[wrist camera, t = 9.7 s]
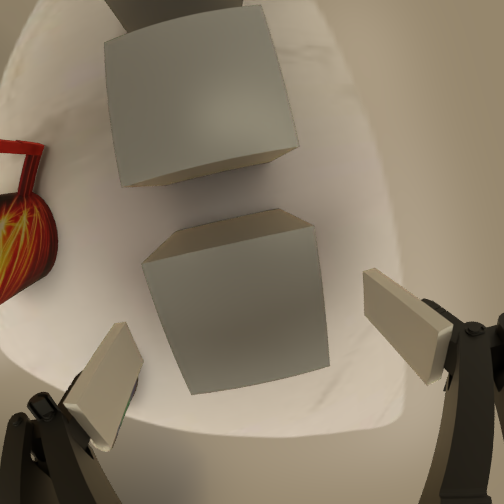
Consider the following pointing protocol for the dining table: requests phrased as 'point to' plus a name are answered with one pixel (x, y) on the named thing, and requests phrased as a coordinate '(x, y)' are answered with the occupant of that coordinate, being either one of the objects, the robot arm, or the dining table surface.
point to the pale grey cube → (162, 10)
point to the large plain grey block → (241, 300)
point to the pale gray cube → (196, 97)
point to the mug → (25, 227)
